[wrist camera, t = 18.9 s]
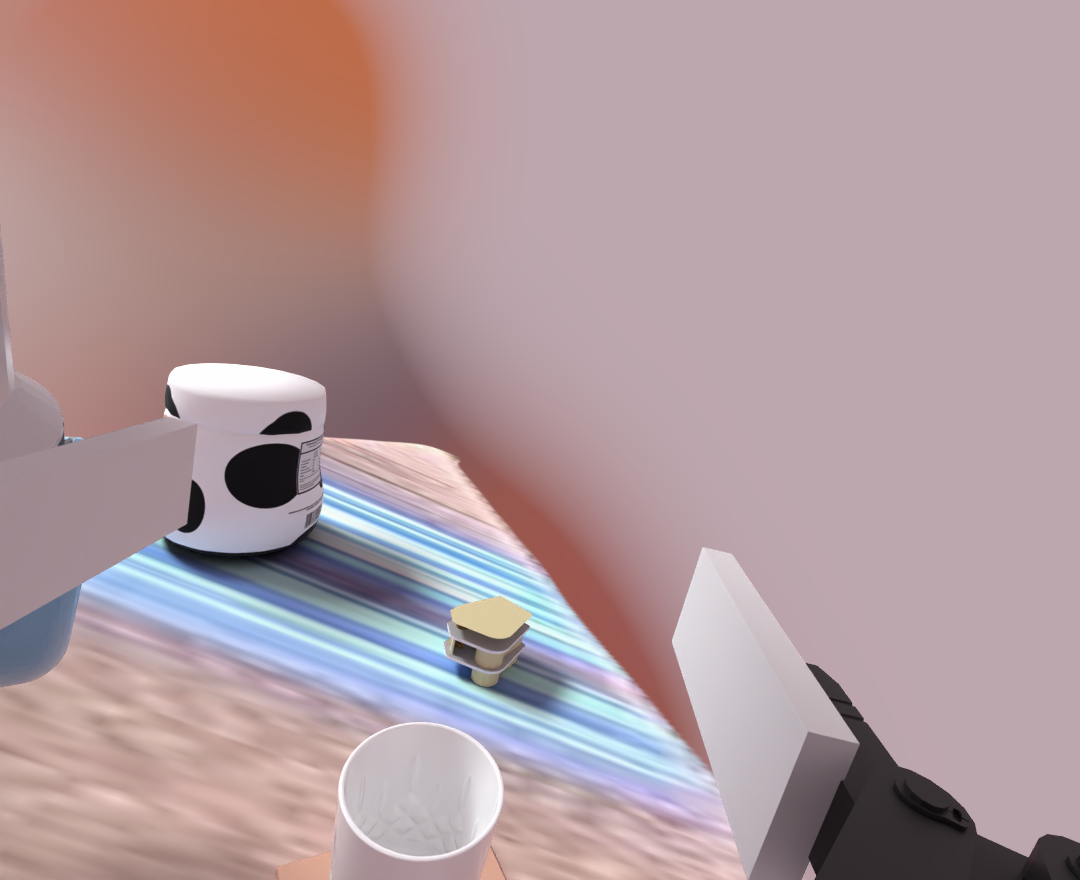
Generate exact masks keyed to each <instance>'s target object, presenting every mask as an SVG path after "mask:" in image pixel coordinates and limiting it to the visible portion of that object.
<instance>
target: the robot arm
mask: <svg viewBox="0 0 1080 880" xmlns="http://www.w3.org/2000/svg"><path fill="white" fill-rule="evenodd" d="M197 426H198V424H197V423H192V422H188V421H184V420H180V419H176V418H172V417H164V418H161V419H157V420H153V421H150V422H146V423H143V424H139V425H135V426H131V427H128V428H124V429H121V430H117V431H113V432H109V433H106V434H102V435H98V436H94V437H91V438H87V439H82V438H80V437H76V438H68V439H66V440H64V422H63V417H62V413H61V409H60V405H59V404H58V402H57V401H56V399H55V398H54V396H53V395H52V394H50V393H49V392H48V391H47V390H46V389H45V388H44V387H43V386H41V385H39V384H38V383H37V382H35V381H34V380H32V379H30V378H29V377H27V376H25V375H23V374H21V373H19V372H17V371H15V370H14V369H13V360H12V349H11V337H10V327H9V316H8V304H7V293H6V282H5V272H4V260H3V249H2V238H1V227H0V687H5V686H11V685H17V684H22V683H26V682H30V681H33V680H35V679H37V678H39V677H41V676H43V675H45V674H46V673H48V672H49V671H50V670H52V669H53V668H54V667H55V666H56V665H57V664H58V663H59V662H60V660H61V659H62V657H63V656H64V654H65V652H66V650H67V647H68V643H69V639H70V635H71V631H72V626H73V622H74V617H75V613H76V608H77V603H78V599H79V594H80V589H81V585H82V583H84V582H85V581H87V580H89V579H91V578H93V577H94V576H96V575H98V574H100V573H101V572H103V571H105V570H107V569H108V568H110V567H112V566H114V565H115V564H117V563H119V562H121V561H122V560H124V559H126V558H128V557H130V556H131V555H133V554H135V553H137V552H138V551H140V550H142V549H144V548H145V547H147V546H149V545H151V544H152V543H154V542H156V541H158V540H159V539H161V538H163V537H165V536H166V535H168V534H170V533H172V532H174V531H175V530H177V529H179V528H181V527H182V526H184V525H186V524H187V518H188V509H189V500H190V491H191V482H192V472H193V463H194V454H195V445H196V436H197ZM672 643H673V646H674V650H675V653H676V656H677V659H678V662H679V665H680V669H681V672H682V675H683V678H684V681H685V684H686V688H687V691H688V694H689V697H690V700H691V703H692V707H693V709H694V712H695V716H696V719H697V722H698V726H699V729H700V732H701V735H702V738H703V741H704V745H705V747H706V751H707V754H708V757H709V760H710V763H711V767H712V770H713V773H714V776H715V779H716V782H717V786H718V789H719V792H720V795H721V798H722V801H723V805H724V808H725V811H726V814H727V817H728V820H729V823H730V827H731V830H732V833H733V836H734V839H735V842H736V846H737V849H738V852H739V855H740V858H741V861H742V865H743V868H744V871H745V874H746V877H747V880H802V877H803V875H804V873H805V870H806V868H807V866H808V863H809V861H810V862H811V865H812V867H813V869H814V871H815V874H816V878H815V880H1080V843H1078V842H1075V841H1073V840H1070V839H1068V838H1065V837H1063V836H1055V835H1049V834H1047V835H1045V836H1043V837H1041V838H1039V839H1038V841H1037V843H1036V845H1035V847H1034V849H1033V850H1032V852H1031V854H1030V856H1029V858H1028V857H1026V856H1023V855H1021V854H1019V853H1017V852H1015V851H1012V850H1010V849H1008V848H1006V847H1003V846H1002V845H999V844H997V843H995V842H993V841H991V840H988V839H986V838H984V837H982V836H980V835H978V834H977V832H976V827H975V823H974V822H973V820H972V819H971V817H970V816H969V814H968V813H967V811H966V810H965V809H964V807H962V806H961V805H960V804H959V803H958V802H957V801H956V800H955V799H954V798H953V797H952V796H951V795H950V794H949V793H948V792H946V791H945V790H943V789H942V788H940V787H939V786H938V785H936V784H935V783H933V782H932V781H931V780H929V779H927V778H925V777H923V776H921V775H919V774H917V773H915V772H913V771H911V770H908V769H905V768H902V767H899V766H898V765H897V764H896V763H895V761H894V760H893V758H892V757H891V756H890V754H889V753H888V751H887V750H886V749H885V747H884V746H883V745H882V743H881V742H880V740H879V739H878V738H877V736H876V735H875V734H874V732H873V731H872V729H871V728H870V727H869V725H868V724H867V723H865V722H864V721H863V719H864V718H863V717H862V716H861V714H860V713H859V711H858V710H857V709H856V707H854V706H852V702H851V700H850V699H849V698H848V696H847V695H846V694H845V692H844V691H843V689H842V688H841V687H840V685H839V684H838V683H837V682H835V681H834V680H833V679H832V678H831V677H829V675H827V674H826V673H825V672H824V671H823V670H822V669H820V668H819V667H818V666H816V665H812V664H808V663H805V662H804V661H803V659H802V657H801V656H800V654H799V653H798V652H797V650H796V649H795V647H794V646H793V644H792V643H791V641H790V640H789V638H788V637H787V635H786V634H785V632H784V631H783V629H782V628H781V626H780V625H779V623H778V622H777V621H776V619H775V617H774V616H773V614H772V613H771V611H770V610H769V608H768V607H767V606H766V604H765V602H764V601H763V600H762V598H761V597H760V596H759V594H758V592H757V591H756V589H755V588H754V586H753V585H752V583H751V582H750V580H749V579H748V577H747V576H746V574H745V573H744V571H743V570H742V568H741V567H740V565H739V564H738V562H737V561H736V559H735V558H734V557H733V555H732V554H728V553H725V552H721V551H716V550H713V549H709V548H704V547H703V548H702V551H701V554H700V557H699V560H698V563H697V566H696V569H695V572H694V576H693V578H692V582H691V585H690V588H689V591H688V594H687V597H686V600H685V603H684V606H683V609H682V612H681V615H680V618H679V621H678V624H677V628H676V630H675V634H674V636H673V639H672Z"/></svg>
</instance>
